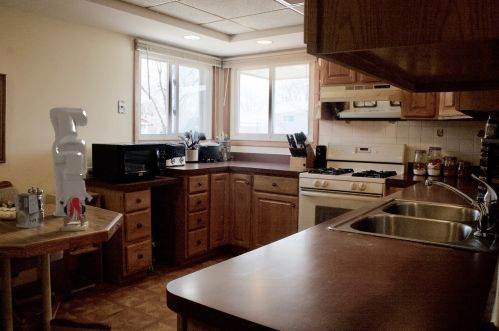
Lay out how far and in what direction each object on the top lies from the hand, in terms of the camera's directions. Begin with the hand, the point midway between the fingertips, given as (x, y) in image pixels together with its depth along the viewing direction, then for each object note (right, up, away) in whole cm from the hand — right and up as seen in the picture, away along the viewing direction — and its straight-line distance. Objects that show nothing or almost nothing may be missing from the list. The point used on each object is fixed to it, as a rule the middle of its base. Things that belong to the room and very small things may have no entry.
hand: (74, 213), depth 205 cm
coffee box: (-24, -7, +3) cm, 25 cm away
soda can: (0, -4, 0) cm, 4 cm away
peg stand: (0, -7, +1) cm, 7 cm away
